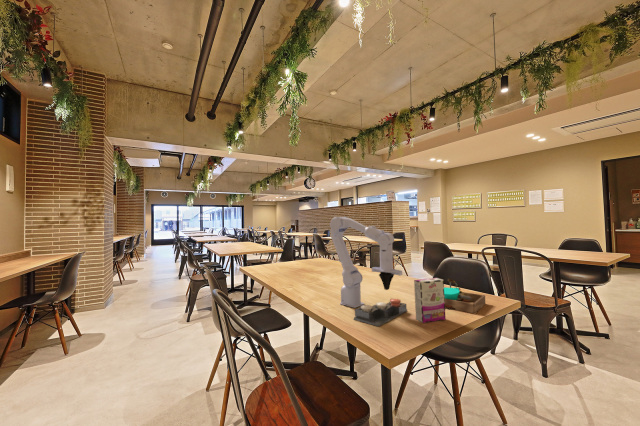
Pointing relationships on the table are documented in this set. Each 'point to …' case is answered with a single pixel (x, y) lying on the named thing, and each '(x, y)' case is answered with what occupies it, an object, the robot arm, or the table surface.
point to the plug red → (395, 302)
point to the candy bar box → (429, 300)
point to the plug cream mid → (381, 305)
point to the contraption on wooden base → (454, 294)
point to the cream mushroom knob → (366, 308)
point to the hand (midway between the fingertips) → (386, 289)
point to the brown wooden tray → (466, 306)
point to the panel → (379, 314)
